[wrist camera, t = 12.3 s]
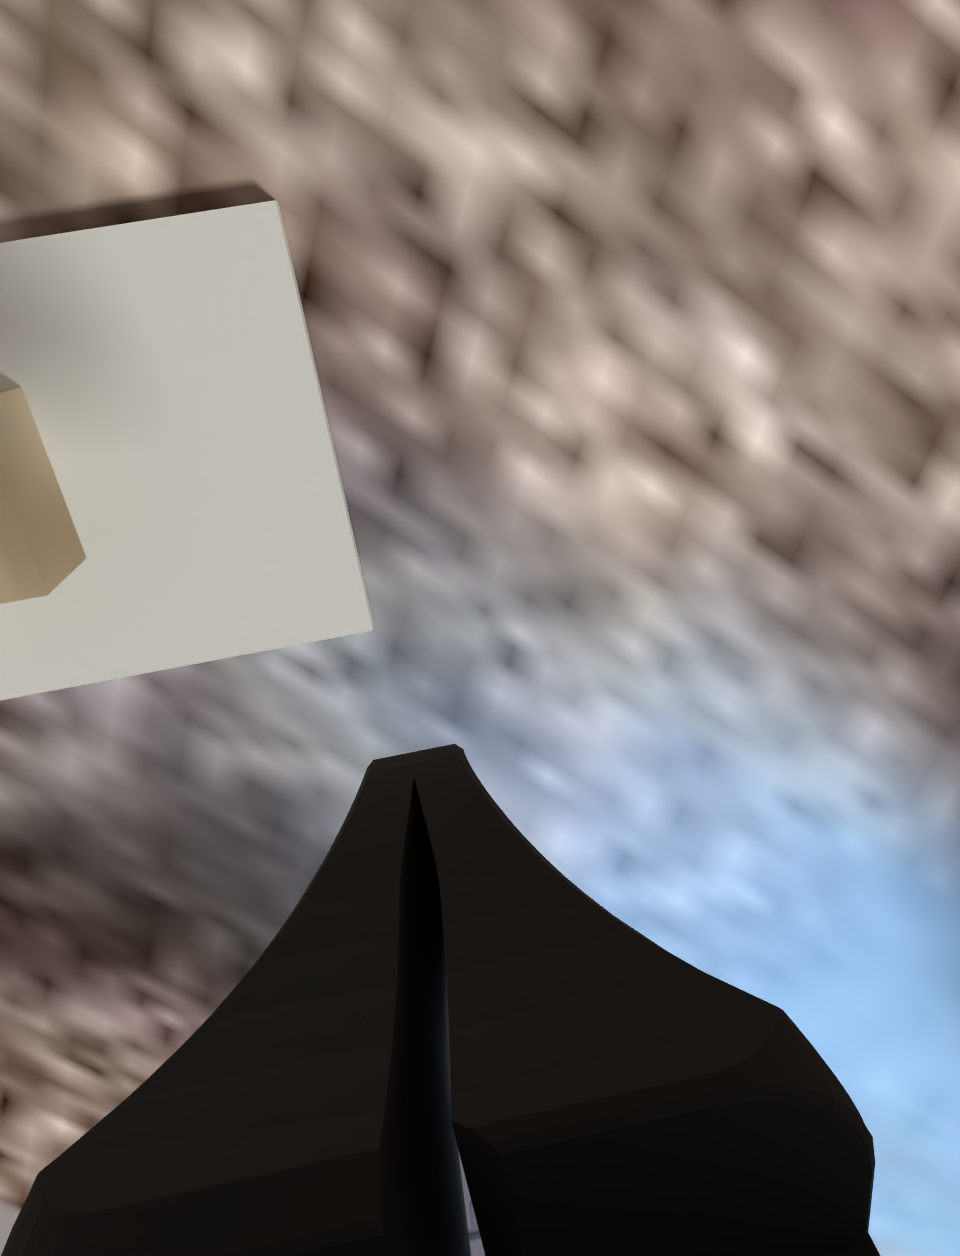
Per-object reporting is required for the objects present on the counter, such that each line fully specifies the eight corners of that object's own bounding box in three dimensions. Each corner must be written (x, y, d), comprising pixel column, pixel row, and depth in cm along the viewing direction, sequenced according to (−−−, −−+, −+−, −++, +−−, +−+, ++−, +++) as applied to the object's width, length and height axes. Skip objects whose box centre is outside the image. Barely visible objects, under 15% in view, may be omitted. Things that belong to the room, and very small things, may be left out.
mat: (372, 621, 21) (373, 630, 20) (-163, 721, 20) (-178, 733, 20) (278, 202, 17) (275, 200, 16) (-400, 308, 16) (-427, 308, 15)
